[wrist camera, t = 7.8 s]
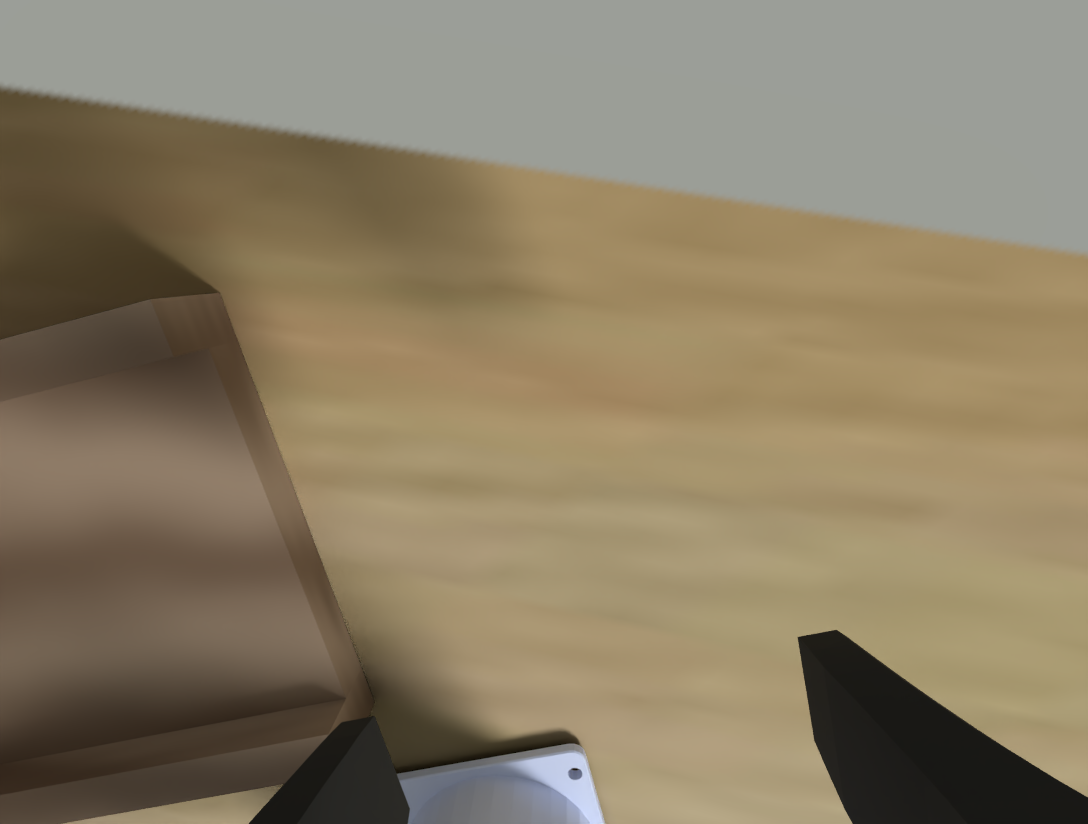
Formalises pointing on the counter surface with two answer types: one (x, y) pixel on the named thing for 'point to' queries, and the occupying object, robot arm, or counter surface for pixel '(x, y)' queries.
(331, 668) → the tray
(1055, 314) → the counter surface
